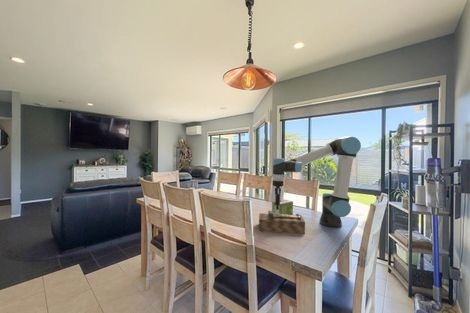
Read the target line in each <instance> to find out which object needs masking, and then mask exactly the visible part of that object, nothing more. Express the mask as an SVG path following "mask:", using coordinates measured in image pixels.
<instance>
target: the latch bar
mask: <svg viewBox="0 0 470 313" xmlns="http://www.w3.org/2000/svg"><path fill="white" fill-rule="evenodd" d="M269 211H270V212H269V213H272V214H273V216H281V217H289V218H297V219H298V217H299V215H300V214H299V215H297V216H296V214H293V215H287V214H275V213H273V212H271V211H272V210H269Z"/></svg>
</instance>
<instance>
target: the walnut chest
mask: <svg viewBox="0 0 470 313" xmlns="http://www.w3.org/2000/svg"><path fill="white" fill-rule="evenodd" d="M270 211H271V212H273V211H272V210H268V212H267V213H259V214H258V215H259V216H258V217H259V218H258V222H259V223H258V228H259V229H258V231H259V232H270V233H273V232H274V233H290V234H291V233H292V234H306V221H305V218H304V217H303V215H301V214H299V213H295V215H296V216H297V215H299V217H298V219H297V218H289V217H281V216H273V214H272V213H269V212H270Z"/></svg>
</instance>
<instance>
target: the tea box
mask: <svg viewBox="0 0 470 313" xmlns="http://www.w3.org/2000/svg"><path fill="white" fill-rule="evenodd" d="M275 204H276V202H275V200H273V201H272V202H271V211H273V213H275ZM293 210H294V201H293V200H289V199H284V198H283V199H280V205H279V214H287V215H294V211H293Z"/></svg>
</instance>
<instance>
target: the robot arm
mask: <svg viewBox="0 0 470 313" xmlns="http://www.w3.org/2000/svg"><path fill="white" fill-rule="evenodd" d="M361 148H362V144H361V141H360V140H359V138H357V137H355V136H351V135H349V136H348V135H347V136H343V137H339V138H337V139H334V140H332V141H331V142H329V143H326V144H325V145H324V146H322V147H319V148H317V149H314V150H312V151H310V152H309V151H308V152H306V153H304V154H302V155H300V156H297V157H294V158H292V159H290V160H288V159H287V160H286V161H285V159H284V158H282V157H280V158H279V157H275V158H273V161H272V175H271V177H272V186H274V194H275V195H274V196H275V199H274V201H275V202H276V204H275V214H279V205H280V200H281V192H282V189H281V187H284V181H285V180H284V177H285V176H284V175H285V174H284V173H301V172H302V170H303V166H306V165H308V164H311V163H314V162H316V161H319V160H322V159H324V158H326V157H329V156H337V159H338V161H337V167H336V168H337V169H336V174H335V181H334V187H333V192H324V193H322V196H321V197H322V198H321V200H322V203H321V204H322V205H321V211H322V212H321V215H320V218H319V224H320V225H322V226H325V227H331V228H340V227H342V226H343V222H342V219H341V218H345V217H347V216H348V215H349V214H350V213H351V212H352V206H351V204H350V196H349V195H348V194H349V186H350V181H351V173H352V170H353V169H352V168H353V162H354V159H356V158H357V154H358V153H359V152H360V150H361Z"/></svg>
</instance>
